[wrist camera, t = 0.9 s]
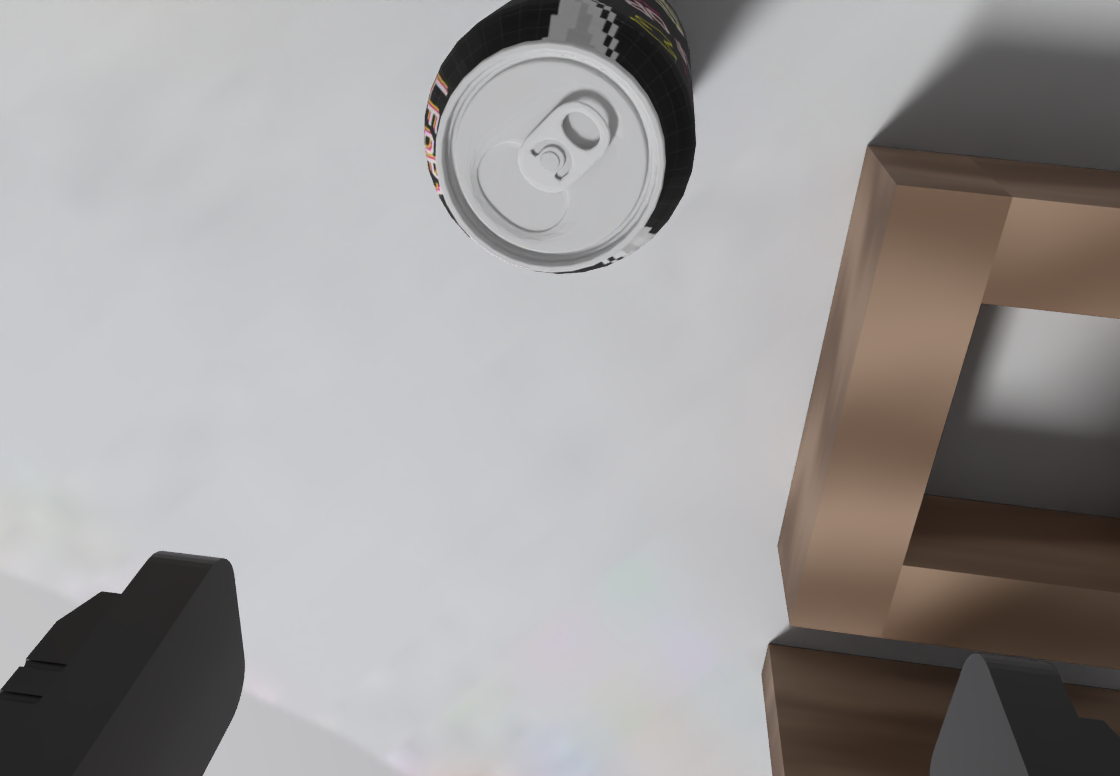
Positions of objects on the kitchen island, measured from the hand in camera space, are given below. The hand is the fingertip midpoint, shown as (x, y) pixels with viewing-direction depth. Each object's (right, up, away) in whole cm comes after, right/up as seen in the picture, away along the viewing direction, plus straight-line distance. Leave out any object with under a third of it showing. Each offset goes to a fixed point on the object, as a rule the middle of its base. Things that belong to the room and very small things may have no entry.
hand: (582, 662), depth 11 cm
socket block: (+16, +3, +22) cm, 27 cm away
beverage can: (+1, +13, +19) cm, 23 cm away
